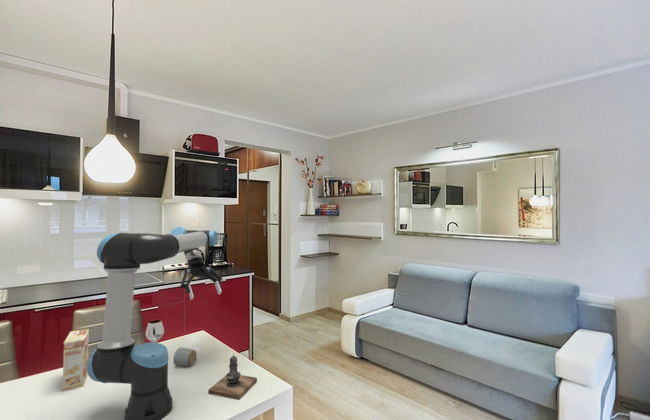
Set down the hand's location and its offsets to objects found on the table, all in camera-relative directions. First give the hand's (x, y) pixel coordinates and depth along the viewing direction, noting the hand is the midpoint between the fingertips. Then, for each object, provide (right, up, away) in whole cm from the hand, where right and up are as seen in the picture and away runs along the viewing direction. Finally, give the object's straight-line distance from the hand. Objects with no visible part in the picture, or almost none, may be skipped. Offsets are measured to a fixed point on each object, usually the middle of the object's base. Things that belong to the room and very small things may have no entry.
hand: (206, 295), depth 150 cm
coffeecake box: (-50, -33, -16) cm, 62 cm away
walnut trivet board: (+19, -32, -21) cm, 43 cm away
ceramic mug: (-10, -33, 0) cm, 34 cm away
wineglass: (-28, -33, +6) cm, 44 cm away
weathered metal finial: (+19, -31, -21) cm, 42 cm away
